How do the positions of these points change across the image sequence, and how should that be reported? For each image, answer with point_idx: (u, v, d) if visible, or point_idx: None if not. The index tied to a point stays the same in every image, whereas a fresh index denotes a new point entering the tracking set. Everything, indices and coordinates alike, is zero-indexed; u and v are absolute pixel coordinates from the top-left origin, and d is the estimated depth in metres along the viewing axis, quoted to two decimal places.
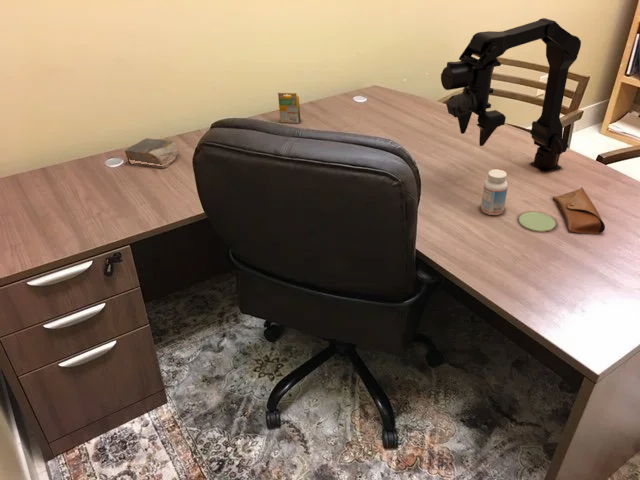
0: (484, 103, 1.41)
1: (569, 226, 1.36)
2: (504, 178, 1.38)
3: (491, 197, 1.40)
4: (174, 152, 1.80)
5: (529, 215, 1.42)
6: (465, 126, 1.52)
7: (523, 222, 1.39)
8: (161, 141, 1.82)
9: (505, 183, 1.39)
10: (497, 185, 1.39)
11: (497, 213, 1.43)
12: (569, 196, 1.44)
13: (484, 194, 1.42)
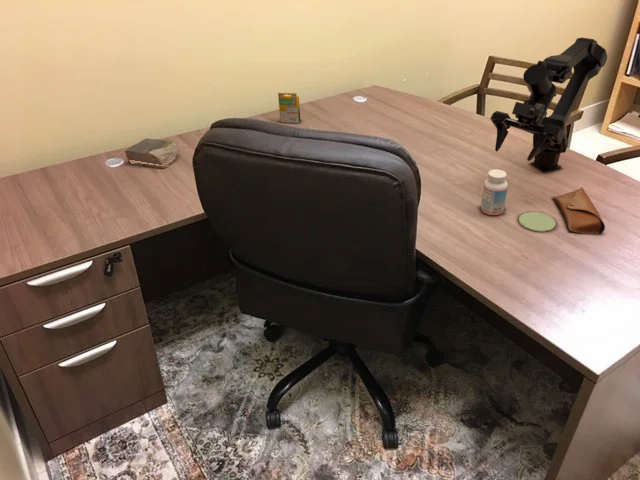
0: (541, 120, 1.41)
1: (569, 226, 1.36)
2: (504, 178, 1.38)
3: (491, 197, 1.40)
4: (174, 152, 1.80)
5: (529, 215, 1.42)
6: (500, 145, 1.46)
7: (523, 222, 1.39)
8: (161, 141, 1.82)
9: (505, 183, 1.39)
10: (497, 185, 1.39)
11: (497, 213, 1.43)
12: (569, 196, 1.44)
13: (484, 194, 1.42)
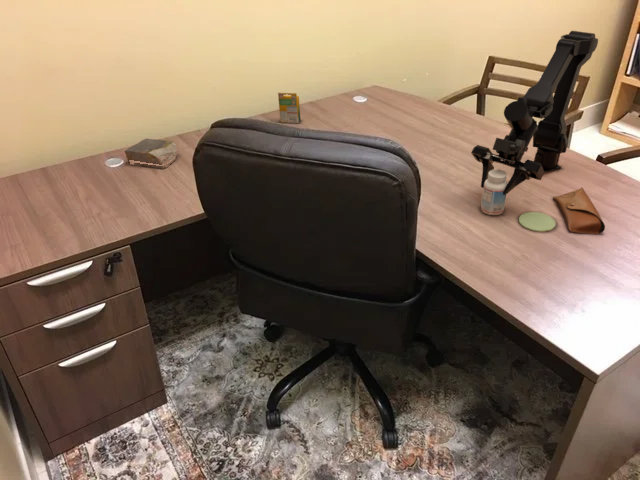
0: (522, 156, 1.40)
1: (569, 226, 1.36)
2: (504, 178, 1.38)
3: (491, 197, 1.40)
4: (174, 152, 1.80)
5: (529, 215, 1.42)
6: None
7: (523, 222, 1.39)
8: (161, 141, 1.82)
9: (505, 183, 1.39)
10: (497, 185, 1.39)
11: (497, 213, 1.43)
12: (569, 196, 1.44)
13: (484, 194, 1.42)
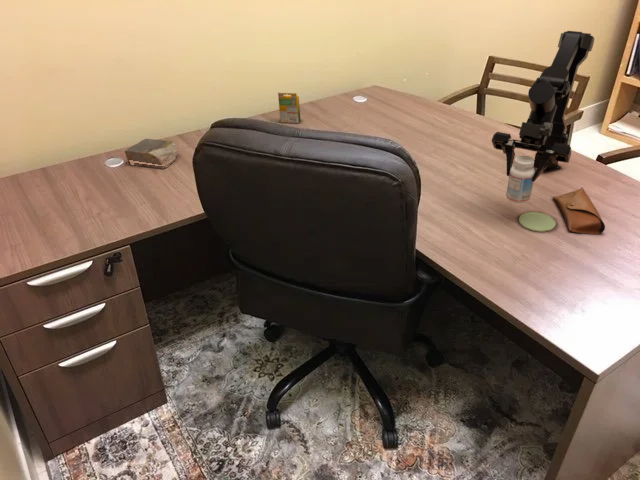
0: (545, 139, 1.34)
1: (569, 226, 1.36)
2: (533, 164, 1.32)
3: (520, 185, 1.34)
4: (174, 152, 1.80)
5: (529, 215, 1.42)
6: None
7: (523, 222, 1.39)
8: (161, 141, 1.82)
9: (533, 169, 1.33)
10: (526, 171, 1.32)
11: (525, 201, 1.36)
12: (569, 196, 1.44)
13: (511, 182, 1.35)
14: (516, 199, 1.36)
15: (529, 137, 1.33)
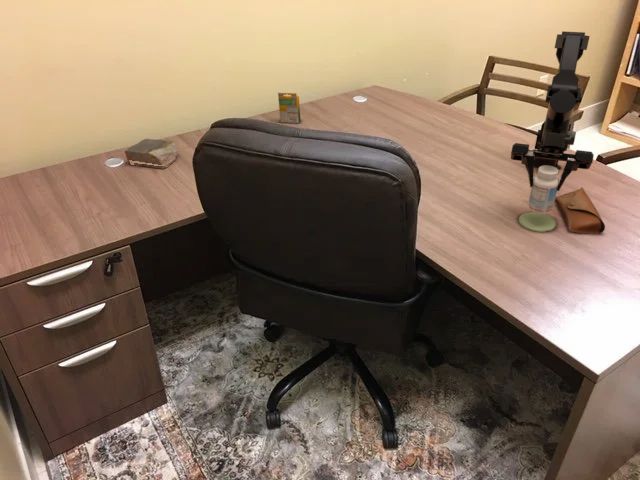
0: None
1: (569, 226, 1.36)
2: (557, 173, 1.30)
3: (546, 195, 1.32)
4: (174, 152, 1.80)
5: (529, 215, 1.42)
6: None
7: (523, 222, 1.39)
8: (161, 141, 1.82)
9: (557, 178, 1.32)
10: (551, 181, 1.31)
11: (550, 210, 1.35)
12: (569, 196, 1.44)
13: (536, 193, 1.33)
14: (541, 209, 1.34)
15: (550, 146, 1.31)
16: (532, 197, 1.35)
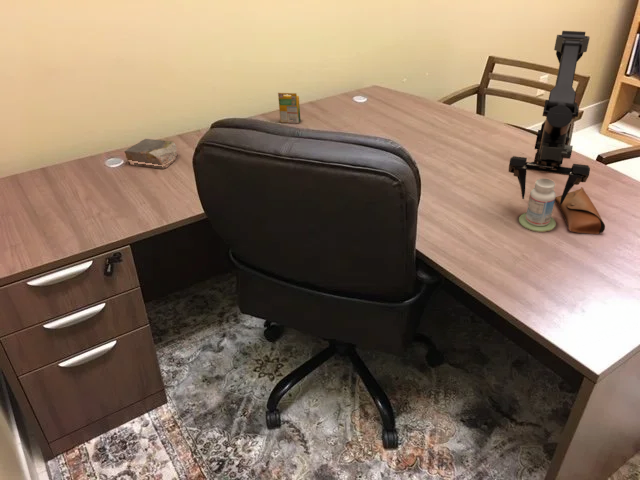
0: None
1: (569, 226, 1.36)
2: (554, 187, 1.32)
3: (543, 208, 1.34)
4: (174, 152, 1.80)
5: None
6: None
7: (523, 222, 1.39)
8: (161, 141, 1.81)
9: (553, 191, 1.34)
10: (549, 194, 1.33)
11: (547, 223, 1.37)
12: (569, 196, 1.44)
13: (533, 206, 1.35)
14: (538, 222, 1.36)
15: (547, 160, 1.33)
16: (529, 210, 1.37)
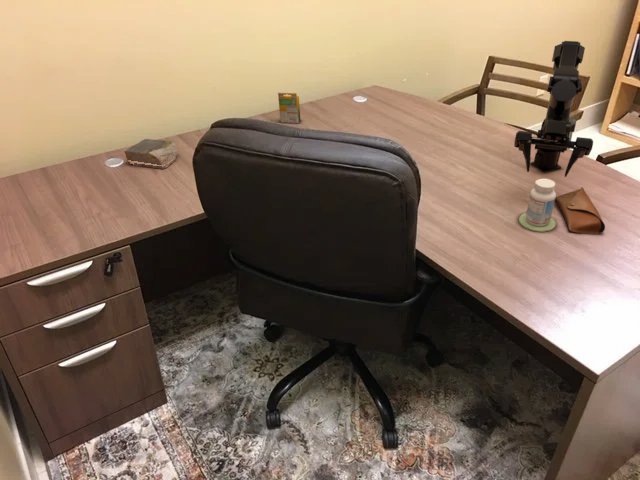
0: None
1: (569, 226, 1.36)
2: (554, 187, 1.32)
3: (543, 208, 1.34)
4: (174, 152, 1.79)
5: None
6: None
7: (523, 222, 1.39)
8: (161, 141, 1.81)
9: (553, 191, 1.34)
10: (549, 194, 1.33)
11: (547, 223, 1.37)
12: (569, 196, 1.44)
13: (533, 206, 1.35)
14: (538, 222, 1.36)
15: (552, 134, 1.38)
16: (529, 210, 1.37)
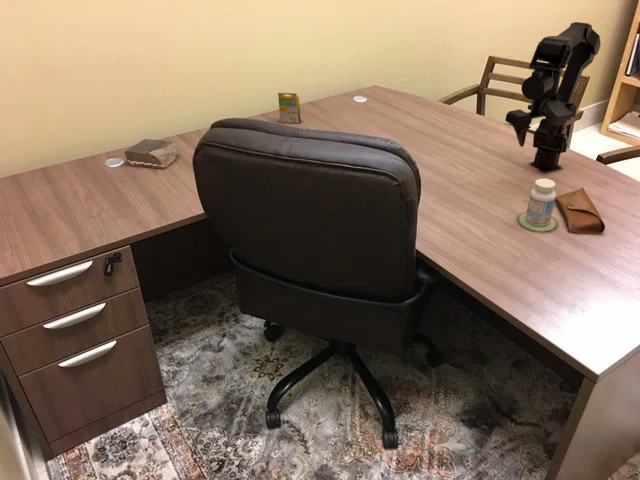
0: None
1: (569, 226, 1.36)
2: (554, 187, 1.32)
3: (543, 208, 1.34)
4: (174, 152, 1.79)
5: None
6: None
7: (523, 222, 1.39)
8: (161, 141, 1.81)
9: (553, 191, 1.34)
10: (549, 194, 1.33)
11: (547, 223, 1.37)
12: (570, 196, 1.44)
13: (533, 206, 1.35)
14: (538, 222, 1.36)
15: None
16: (529, 210, 1.37)
